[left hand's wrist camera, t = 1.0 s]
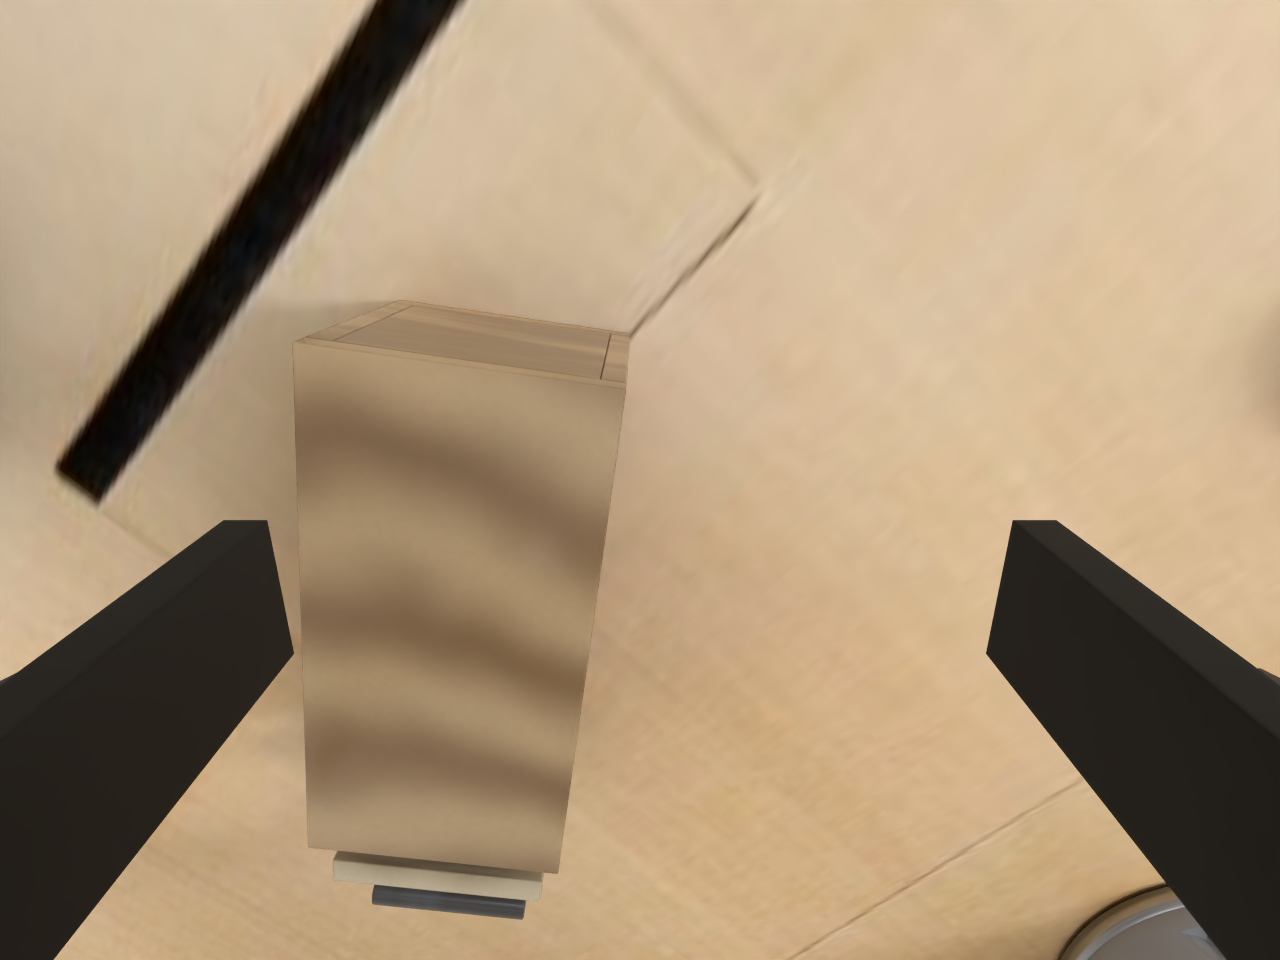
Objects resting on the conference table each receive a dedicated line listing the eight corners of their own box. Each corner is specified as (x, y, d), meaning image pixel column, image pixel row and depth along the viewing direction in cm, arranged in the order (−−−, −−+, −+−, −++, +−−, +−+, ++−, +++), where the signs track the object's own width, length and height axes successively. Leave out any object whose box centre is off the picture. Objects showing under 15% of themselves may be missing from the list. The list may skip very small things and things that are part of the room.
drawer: (550, 834, 41) (528, 984, 33) (393, 817, 41) (333, 965, 33) (604, 424, 32) (593, 494, 24) (404, 396, 32) (326, 459, 24)
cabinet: (578, 709, 39) (557, 874, 29) (390, 687, 38) (307, 848, 29) (630, 333, 32) (626, 389, 22) (399, 299, 31) (291, 341, 21)
